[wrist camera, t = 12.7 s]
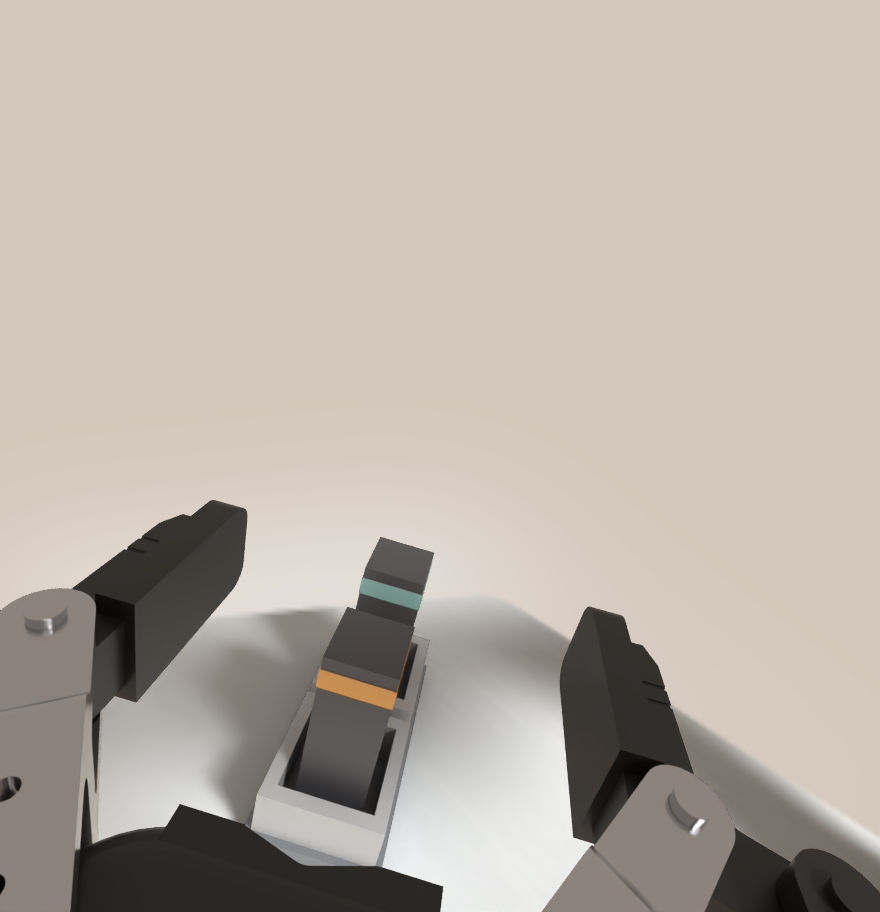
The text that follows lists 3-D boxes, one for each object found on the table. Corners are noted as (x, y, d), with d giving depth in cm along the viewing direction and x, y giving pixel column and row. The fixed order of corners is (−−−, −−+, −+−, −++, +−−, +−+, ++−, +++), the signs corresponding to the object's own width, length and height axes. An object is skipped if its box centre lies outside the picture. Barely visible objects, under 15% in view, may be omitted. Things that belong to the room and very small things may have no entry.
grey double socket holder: (423, 676, 43) (435, 638, 42) (374, 892, 28) (390, 845, 27) (332, 648, 43) (341, 610, 42) (238, 848, 29) (246, 799, 27)
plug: (374, 768, 34) (415, 626, 29) (356, 832, 30) (400, 681, 25) (315, 749, 34) (346, 606, 29) (289, 811, 30) (321, 657, 25)
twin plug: (399, 676, 41) (435, 552, 37) (387, 718, 37) (425, 586, 33) (350, 661, 41) (380, 536, 37) (333, 701, 37) (364, 567, 33)
